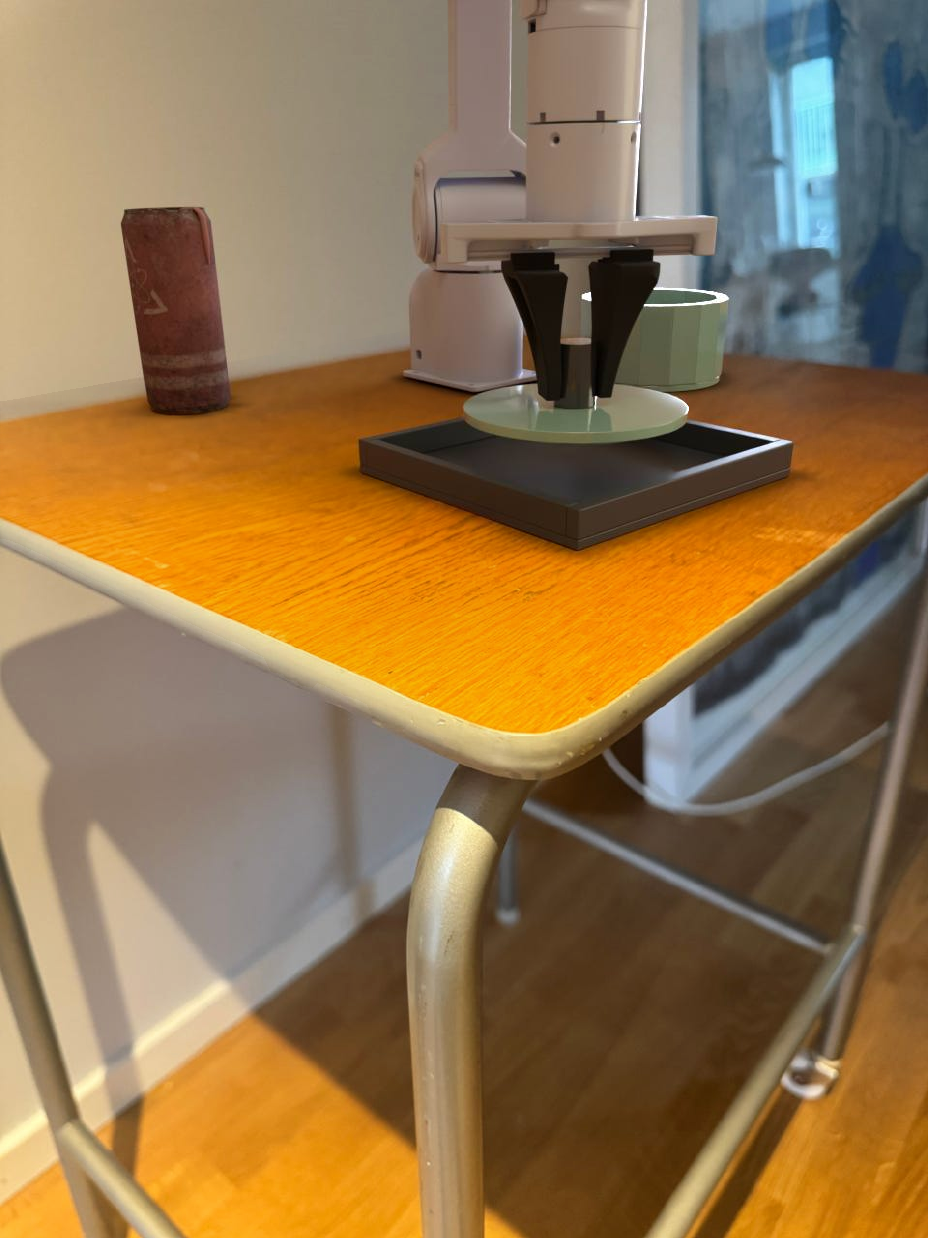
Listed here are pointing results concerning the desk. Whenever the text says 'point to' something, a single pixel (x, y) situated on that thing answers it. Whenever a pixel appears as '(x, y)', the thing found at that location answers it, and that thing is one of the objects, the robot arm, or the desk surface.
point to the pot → (672, 340)
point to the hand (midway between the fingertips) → (574, 395)
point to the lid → (576, 407)
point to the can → (176, 308)
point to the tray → (575, 475)
